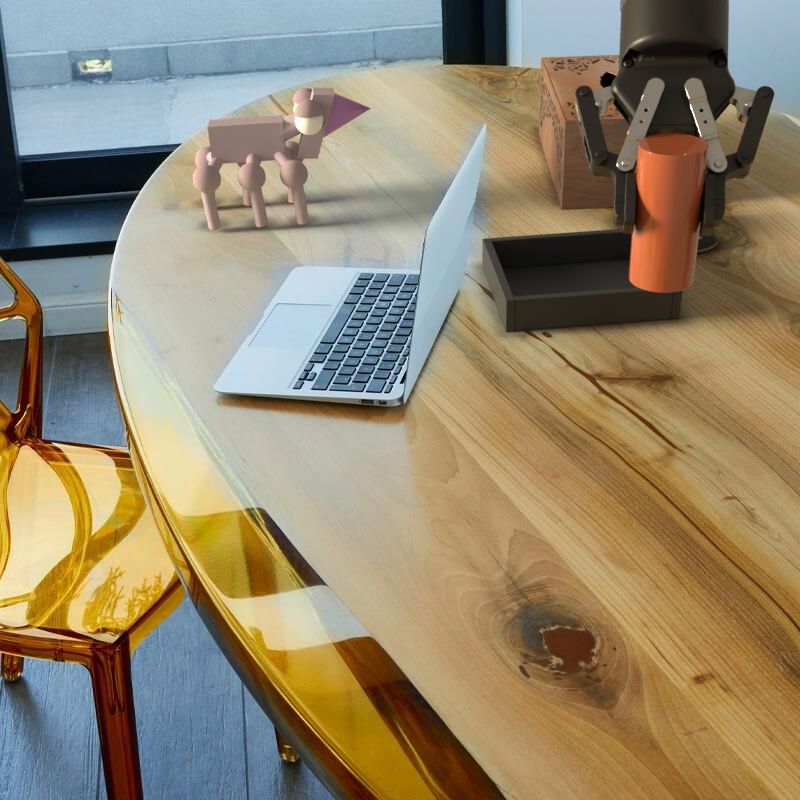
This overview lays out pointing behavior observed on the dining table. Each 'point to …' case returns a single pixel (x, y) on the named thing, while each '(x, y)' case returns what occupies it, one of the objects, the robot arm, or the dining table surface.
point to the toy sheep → (271, 150)
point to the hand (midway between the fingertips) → (668, 229)
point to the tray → (569, 282)
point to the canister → (667, 211)
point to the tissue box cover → (577, 128)
